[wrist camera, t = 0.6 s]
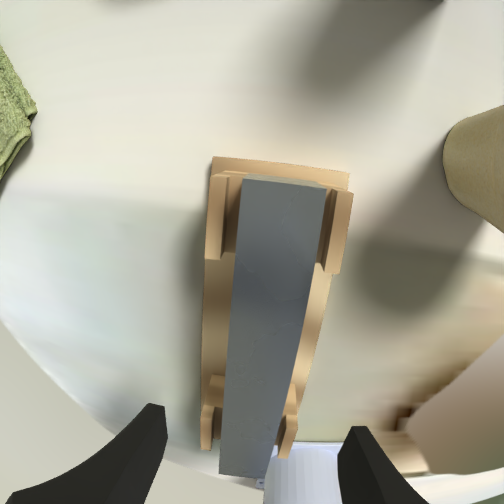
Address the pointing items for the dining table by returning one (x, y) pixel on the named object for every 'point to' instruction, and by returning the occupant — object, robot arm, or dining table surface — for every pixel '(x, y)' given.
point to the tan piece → (221, 281)
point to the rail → (266, 313)
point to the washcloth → (13, 113)
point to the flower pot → (478, 164)
